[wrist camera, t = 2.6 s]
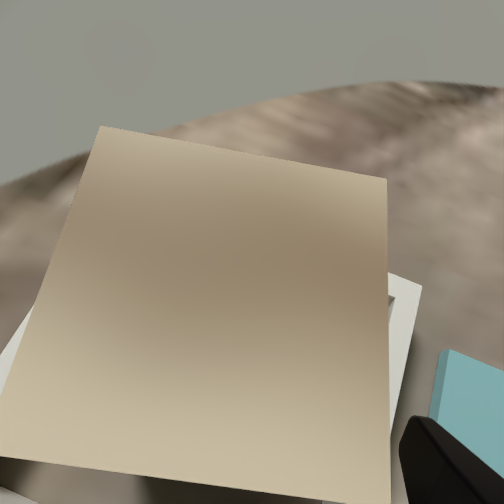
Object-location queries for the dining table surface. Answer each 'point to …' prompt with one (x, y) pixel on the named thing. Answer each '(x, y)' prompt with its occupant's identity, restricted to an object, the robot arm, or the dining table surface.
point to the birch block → (212, 325)
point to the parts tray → (400, 331)
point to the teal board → (471, 405)
